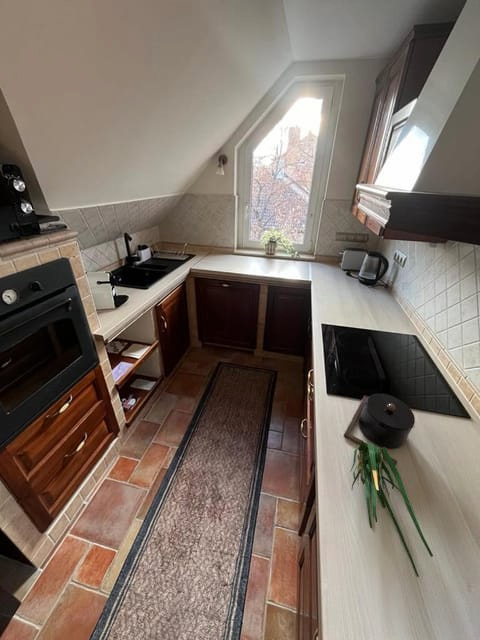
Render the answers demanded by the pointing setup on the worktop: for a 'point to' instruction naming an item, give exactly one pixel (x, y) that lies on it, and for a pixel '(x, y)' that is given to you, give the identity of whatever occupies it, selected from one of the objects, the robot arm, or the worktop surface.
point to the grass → (373, 473)
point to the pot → (386, 421)
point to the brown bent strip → (347, 433)
